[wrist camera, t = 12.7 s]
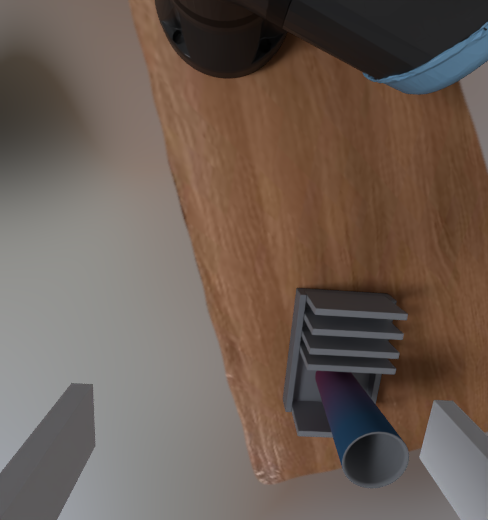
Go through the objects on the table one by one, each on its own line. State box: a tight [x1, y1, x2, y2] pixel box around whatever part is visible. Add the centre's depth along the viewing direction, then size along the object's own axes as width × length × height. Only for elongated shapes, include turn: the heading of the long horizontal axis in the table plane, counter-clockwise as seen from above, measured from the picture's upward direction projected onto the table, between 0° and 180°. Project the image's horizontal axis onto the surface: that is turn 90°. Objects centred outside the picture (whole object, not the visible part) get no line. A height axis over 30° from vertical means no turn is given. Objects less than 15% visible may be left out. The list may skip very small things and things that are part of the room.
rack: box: [283, 288, 408, 437], centre depth 44 cm, size 18×13×7 cm
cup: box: [315, 371, 409, 488], centre depth 40 cm, size 7×7×15 cm
